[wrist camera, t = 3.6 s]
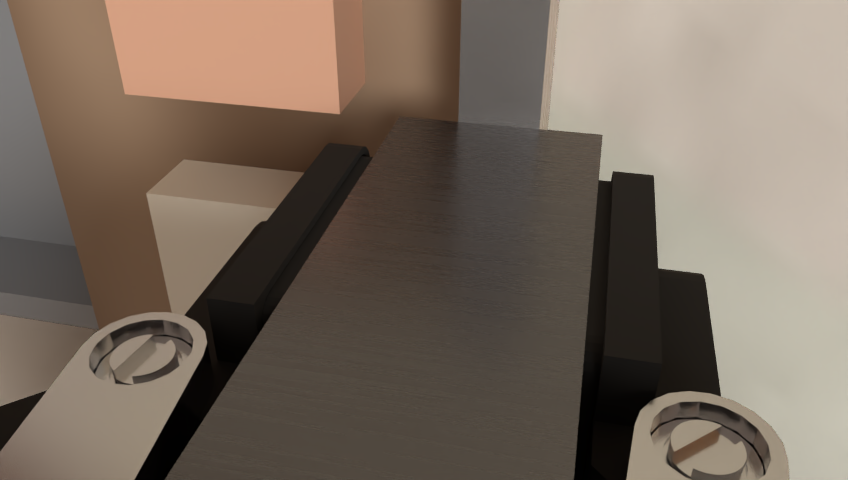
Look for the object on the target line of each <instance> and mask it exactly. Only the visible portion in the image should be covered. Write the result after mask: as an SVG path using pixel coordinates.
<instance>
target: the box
mask: <svg viewBox="0 0 848 480" xmlns="http://www.w3.org/2000/svg"><path fill="white" fill-rule="evenodd" d="M0 314H1V315H8V316H14V317H20V318H27V319H33V320H39V321H46V322H52V323H58V324H65V325H71V326H77V327H84V328H90V329H97V330H99V327H98V324H97V320H96V316H95V313H94V309H93V306H92V302H91V299H90V295H89V291H88V288H87V284H86V281H85V277H84V274H83V270H82V267H81V263H80V259H79V256H78V252H77V249H76V245H75V242H74V238H73V234H72V231H71V227H70V224H69V220H68V217H67V213H66V210H65V206H64V202H63V199H62V195H61V192H60V188H59V185H58V181H57V177H56V174H55V170H54V167H53V163H52V160H51V156H50V152H49V149H48V145H47V142H46V138H45V135H44V131H43V128H42V124H41V120H40V117H39V113H38V110H37V106H36V103H35V99H34V95H33V92H32V88H31V85H30V81H29V78H28V74H27V71H26V67H25V63H24V60H23V56H22V53H21V49H20V46H19V42H18V38H17V35H16V31H15V28H14V24H13V21H12V17H11V14H10V10H9V6H8V3H7V0H0Z"/></svg>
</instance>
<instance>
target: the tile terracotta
mask: <svg viewBox="0 0 848 480" xmlns="http://www.w3.org/2000/svg"><path fill="white" fill-rule="evenodd" d="M105 4H106V8H107V13H108V18H109V22H110V27H111V32H112V36H113V41H114V46H115V50H116V55H117V60H118V64H119V69H120V74H121V78H122V83H123V88H124V92H125V94H128V95H138V96H149V97H160V98H171V99H181V100H192V101H203V102H214V103H225V104H235V105H246V106H257V107H268V108H278V109H289V110H300V111H311V112H321V113H332V114H340V113H341V112H342V111H343V110H344V109H345V107H346V106H347V105H348V104H349V102H350V101H351V100H352V99H353V98H354V96H355V95H356V94H357V93H358V91H359V90H360V89H361V88H362V87H363V85H364V84H365V61H364V37H363V12H362V0H105Z"/></svg>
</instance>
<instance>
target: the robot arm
mask: <svg viewBox="0 0 848 480" xmlns="http://www.w3.org/2000/svg"><path fill="white" fill-rule="evenodd" d="M372 158H373V157H370V154H369V151H368V149H367V147H365V146H355V145H345V144H335V143H328V144H327V145H326V146H325V147H324V148H323V150H322V151H321V152H320V154H319V155H318V156H317V157H316V159H315V160H314V161H313V162H312V164H311V165H310V166H309V168H308V169H307V170H306V171H305V173H304V174H303V175H302V176H301V178H300V179H299V180H298V182H297V183H296V184H295V185H294V187H293V188H292V189H291V190H290V192H289V193H288V194H287V196H286V197H285V198H284V199H283V201H282V202H281V203H280V204H279V206H278V207H277V208H276V210H275V211H274V212H273V213H272V215H271V216H270V217H269V218H268V220H267V221H261V222H260V223H259V224H257V225H256V226H255V227H254V229H253V230H252V231H251V232H250V234H249V235H248V236H247V237H246V239H245V240H244V241H243V242H242V244H241V245H240V246H239V247H238V249H237V250H236V251H235V252H234V254H233V255H232V256H231V257H230V259H229V260H228V261H227V262H226V264H225V265H224V266H223V267H222V269H221V270H220V271H219V272H218V274H217V275H216V276H215V277H214V279H213V280H212V281H211V282H210V284H209V285H208V286H207V287H206V289H205V290H204V291H203V292H202V294H201V295H200V296H199V297H198V299H197V300H196V301H195V302H194V304H193V305H192V306H191V307H190V309H189V310H188V311H187V312H186V314H185V315H180V314H175V313H170V312H148V313H143V314H138V315H133V316H129V317H126V318H123V319H121V320H118V321H116V322H113V323H110V324H109V325H107V326H105V327H104V328H102V329H101V330H99V331H97V332H96V333H94V334H93V335H92V336H91V337H90V338H89V339H88V340H87V341H86V342H85V343H84V344H83V345H82V346H81V347H80V348H79V350H78V351H77V352H76V354H75V355H74V356H73V358H72V359H71V360H70V361H69V363H68V364H67V365H66V367H65V368H64V369H63V371H62V372H61V373H60V374H59V376H58V377H57V378H56V380H55V381H54V382H53V384H52V385H51V386H50V387H49V389H48V390H47V391H44V392H41V393H38V394H35V395H32V396H29V397H26V398H24V399H21V400H18V401H15V402H12V403H9V404H6V405H3V406H0V480H165V478H166V477H167V475H168V474H169V472H170V471H171V469H172V468H173V466H174V464H175V463H176V461H177V460H178V458H179V457H180V455H181V454H182V452H183V451H184V449H185V447H186V446H187V444H188V443H189V441H190V440H191V438H192V437H193V435H194V434H195V432H196V430H197V429H198V427H199V426H200V424H201V423H202V421H203V420H204V418H205V417H206V415H207V413H208V412H209V410H210V409H211V407H212V406H213V404H214V403H215V401H216V399H217V398H218V396H219V395H220V393H221V392H222V390H223V389H224V387H225V386H226V384H227V382H228V381H229V379H230V378H231V376H232V375H233V373H234V372H235V370H236V369H237V367H238V365H239V364H240V362H241V361H242V359H243V358H244V356H245V355H246V353H247V352H248V350H249V348H250V347H251V345H252V344H253V342H254V341H255V339H256V338H257V336H258V335H259V333H260V331H261V330H262V328H263V327H264V325H265V324H266V322H267V321H268V319H269V318H270V316H271V314H272V313H273V311H274V310H275V308H276V307H277V305H278V304H279V302H280V301H281V299H282V297H283V296H284V294H285V293H286V291H287V290H288V288H289V287H290V285H291V283H292V282H293V280H294V279H295V277H296V276H297V274H298V273H299V271H300V270H301V268H302V266H303V265H304V263H305V262H306V260H307V259H308V257H309V256H310V254H311V253H312V251H313V249H314V248H315V246H316V245H317V243H318V242H319V240H320V239H321V237H322V236H323V234H324V232H325V231H326V229H327V228H328V226H329V225H330V223H331V222H332V220H333V219H334V217H335V215H336V214H337V212H338V211H339V209H340V208H341V206H342V205H343V203H344V202H345V200H346V198H347V197H348V195H349V194H350V192H351V191H352V189H353V188H354V186H355V185H356V183H357V181H358V180H359V178H360V177H361V175H362V174H363V172H364V171H365V169H366V168H367V166H368V164H369V163H370V161H371V160H372ZM574 480H789V467H788V458H787V455H786V451H785V448H784V445H783V442H782V441H781V439H780V438H779V437H778V435H777V434H776V432H775V431H774V429H773V428H772V427H771V426H770V425H769V424H768V423H767V422H766V421H764V420H763V419H762V418H761V417H760V416H759V415H757V414H756V413H755V412H754V411H752V410H750V409H748V408H746V407H744V406H743V405H741V404H739V403H737V402H735V401H733V400H730V399H727V398H724V397H721V393H720V386H719V378H718V371H717V364H716V356H715V349H714V341H713V334H712V326H711V319H710V311H709V304H708V297H707V289H706V282H705V278H704V275H702V274H699V273H690V272H682V271H674V270H666V269H658V258H657V236H656V214H655V192H654V176H653V175H644V174H634V173H624V172H614V171H613V174H612V179H611V182H610V181H601V180H599V181H598V193H597V205H596V217H595V230H594V242H593V254H592V266H591V278H590V290H589V302H588V314H587V326H586V338H585V351H584V363H583V375H582V387H581V399H580V411H579V423H578V435H577V447H576V459H575V472H574Z"/></svg>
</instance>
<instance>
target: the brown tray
mask: <svg viewBox="0 0 848 480" xmlns="http://www.w3.org/2000/svg"><path fill="white" fill-rule="evenodd" d="M461 1H462V0H362V12H363V37H364V61H365V84H364V85H363V87H362V88H361V89H360V90H359V91H358V93H357V94H356V95H355V96H354V98H353V99H352V100H351V101H350V102H349V104H348V105H347V106H346V107H345V109H344V110H343V111H342V112H341V113H340V114H332V113H321V112H311V111H300V110H289V109H278V108H268V107H257V106H246V105H235V104H225V103H214V102H203V101H192V100H181V99H171V98H160V97H149V96H138V95H128V94H125V92H124V88H123V83H122V78H121V74H120V69H119V64H118V60H117V55H116V50H115V46H114V41H113V36H112V32H111V27H110V22H109V18H108V13H107V8H106V4H105V0H7V3H8V6H9V10H10V14H11V17H12V21H13V24H14V28H15V31H16V35H17V38H18V42H19V46H20V49H21V53H22V56H23V60H24V63H25V67H26V71H27V74H28V78H29V81H30V85H31V88H32V92H33V95H34V99H35V103H36V106H37V110H38V113H39V117H40V120H41V124H42V128H43V131H44V135H45V138H46V142H47V145H48V149H49V152H50V156H51V160H52V163H53V167H54V170H55V174H56V177H57V181H58V185H59V188H60V192H61V195H62V199H63V202H64V206H65V210H66V213H67V217H68V220H69V224H70V227H71V231H72V234H73V238H74V242H75V245H76V249H77V252H78V256H79V259H80V263H81V267H82V270H83V274H84V277H85V281H86V284H87V288H88V291H89V295H90V299H91V302H92V306H93V309H94V313H95V316H96V320H97V324H98V327H99V330H101V329H102V328H104V327H105V326H107V325H109V324H110V323H113V322H116V321H118V320H121V319H123V318H126V317H129V316H133V315H138V314H143V313H148V312H170V313H172V311H171V307H170V302H169V297H168V293H167V288H166V283H165V279H164V274H163V269H162V265H161V260H160V255H159V251H158V246H157V241H156V237H155V232H154V227H153V223H152V218H151V214H150V209H149V204H148V200H147V195H146V193H147V192H148V191H149V190H150V189H151V188H153V187H154V186H155V185H156V184H157V183H158V182H159V181H160V180H161V179H163V178H164V177H165V176H166V175H167V174H168V173H169V172H170V171H171V170H173V169H174V168H175V167H176V166H177V165H178V164H179V163H180V162H181V161H183V160H193V161H202V162H211V163H221V164H230V165H239V166H248V167H257V168H267V169H276V170H285V171H294V172H303V173H305V171H306V170H307V169H308V168H309V166H310V165H311V164H312V162H313V161H314V160H315V159H316V157H317V156H318V155H319V154H320V152H321V151H322V150H323V148H324V147H325V146H326V145H327V144H328V143H335V144H345V145H355V146H365V147H367V149H368V151H369V154H370V157H374V155H375V154H376V152H377V150H378V149H379V147H380V146H381V144H382V143H383V141H384V140H385V138H386V137H387V135H388V133H389V132H390V130H391V129H392V127H393V126H394V124H395V123H396V121H397V120H398V118H399V116H401V117H412V118H423V119H434V120H445V121H456V122H458V115H459V77H460V39H461Z"/></svg>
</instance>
